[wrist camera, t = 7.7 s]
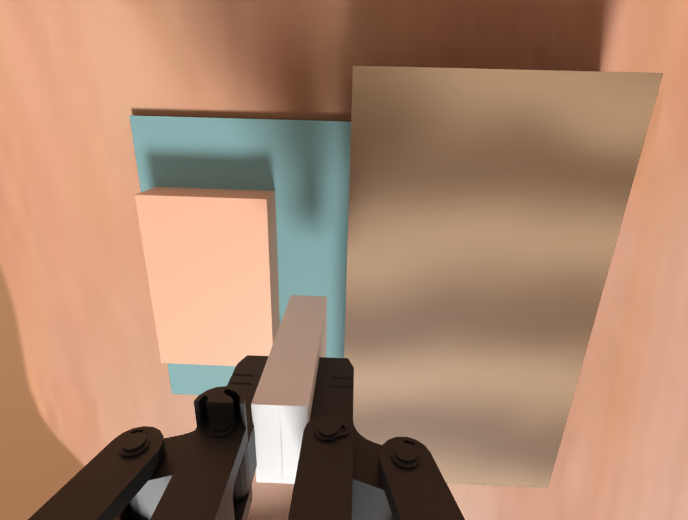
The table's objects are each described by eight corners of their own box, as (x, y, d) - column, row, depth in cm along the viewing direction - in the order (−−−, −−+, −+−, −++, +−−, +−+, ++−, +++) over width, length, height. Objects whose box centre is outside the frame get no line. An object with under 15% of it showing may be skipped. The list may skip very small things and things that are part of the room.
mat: (132, 115, 19) (129, 115, 19) (363, 121, 19) (363, 122, 19) (174, 390, 25) (172, 393, 24) (352, 398, 24) (352, 401, 24)
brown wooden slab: (353, 75, 18) (352, 65, 14) (599, 81, 18) (663, 73, 14) (343, 423, 25) (340, 478, 21) (519, 431, 25) (547, 488, 21)
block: (266, 199, 18) (275, 190, 20) (134, 194, 18) (155, 186, 20) (273, 367, 21) (280, 346, 23) (161, 363, 21) (177, 342, 23)
